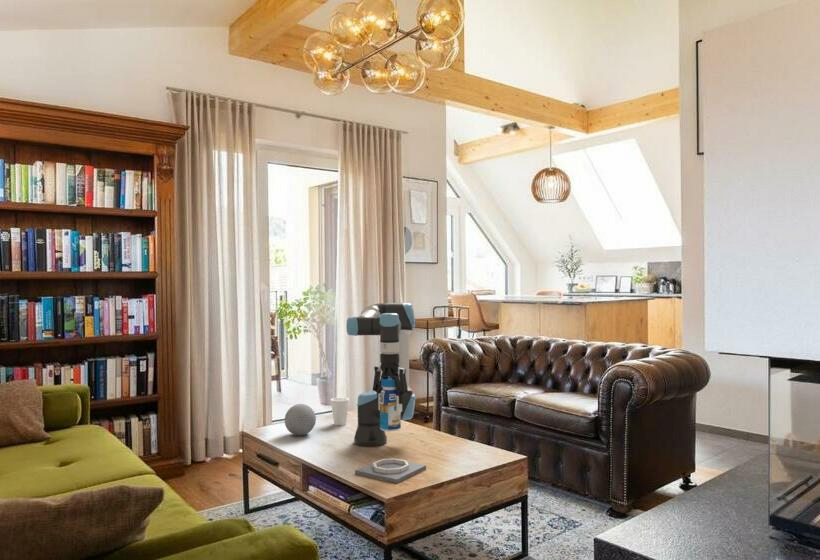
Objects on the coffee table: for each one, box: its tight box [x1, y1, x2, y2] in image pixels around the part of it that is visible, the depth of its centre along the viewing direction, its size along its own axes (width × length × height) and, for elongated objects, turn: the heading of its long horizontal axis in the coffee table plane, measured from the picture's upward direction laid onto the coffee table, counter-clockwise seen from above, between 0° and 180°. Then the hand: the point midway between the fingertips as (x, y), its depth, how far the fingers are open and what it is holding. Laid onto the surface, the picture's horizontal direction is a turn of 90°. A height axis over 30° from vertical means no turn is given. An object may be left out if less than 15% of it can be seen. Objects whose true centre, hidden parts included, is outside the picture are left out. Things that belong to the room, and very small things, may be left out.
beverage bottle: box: [379, 376, 402, 432], centre depth 238 cm, size 8×8×20 cm
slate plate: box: [354, 456, 427, 484], centre depth 238 cm, size 20×20×3 cm
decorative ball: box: [284, 403, 317, 436], centre depth 295 cm, size 15×15×15 cm
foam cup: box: [330, 396, 350, 426], centre depth 316 cm, size 10×9×13 cm
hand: (390, 410), depth 238 cm, fingers closed on beverage bottle, 8 cm apart
